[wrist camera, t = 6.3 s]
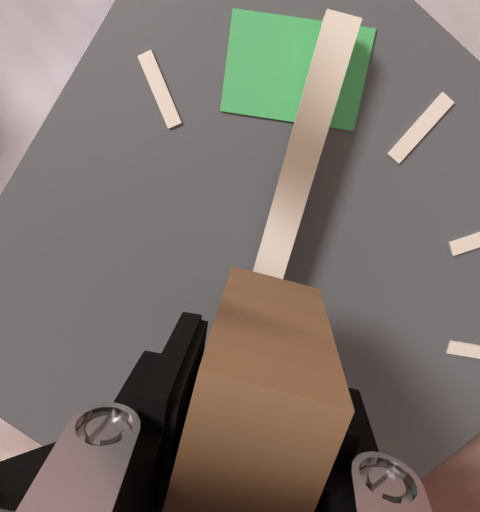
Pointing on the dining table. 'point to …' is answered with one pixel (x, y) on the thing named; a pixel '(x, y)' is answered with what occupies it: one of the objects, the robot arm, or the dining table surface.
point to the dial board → (250, 209)
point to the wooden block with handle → (272, 345)
